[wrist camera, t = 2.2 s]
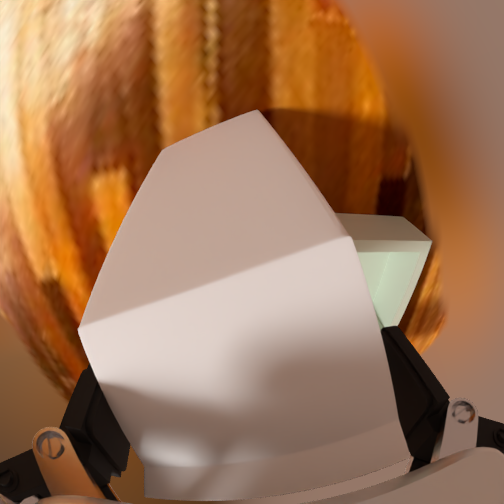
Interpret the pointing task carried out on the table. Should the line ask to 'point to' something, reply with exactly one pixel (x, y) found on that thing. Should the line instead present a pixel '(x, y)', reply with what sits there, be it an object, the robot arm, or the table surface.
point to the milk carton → (240, 327)
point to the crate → (388, 260)
